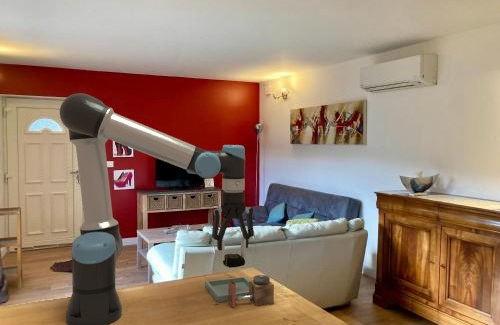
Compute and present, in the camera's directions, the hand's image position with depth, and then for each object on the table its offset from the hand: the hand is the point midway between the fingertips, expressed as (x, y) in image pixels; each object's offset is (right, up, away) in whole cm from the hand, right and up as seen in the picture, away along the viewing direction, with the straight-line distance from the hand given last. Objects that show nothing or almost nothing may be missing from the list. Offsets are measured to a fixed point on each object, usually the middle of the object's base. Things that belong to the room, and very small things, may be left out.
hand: (232, 258), depth 141 cm
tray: (0, -12, +1) cm, 12 cm away
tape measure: (+1, -3, 0) cm, 3 cm away
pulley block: (+9, -12, -7) cm, 17 cm away
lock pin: (+6, -12, -9) cm, 16 cm away
